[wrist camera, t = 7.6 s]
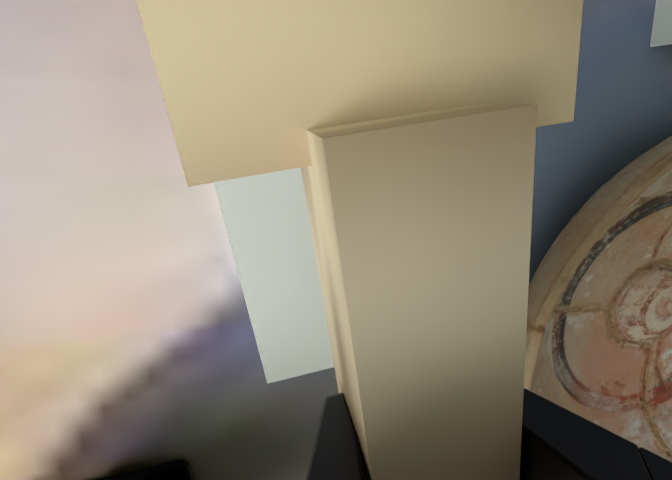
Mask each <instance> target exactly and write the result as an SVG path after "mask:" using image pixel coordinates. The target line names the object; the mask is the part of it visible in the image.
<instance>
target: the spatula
mask: <svg viewBox="0 0 672 480" xmlns="http://www.w3.org/2000/svg"><path fill="white" fill-rule="evenodd" d="M136 1H137V5H138V8H139V12H140V15H141V19H142V23H143V26H144V30H145V33H146V37H147V41H148V44H149V48H150V51H151V55H152V59H153V62H154V66H155V69H156V73H157V77H158V80H159V84H160V87H161V91H162V95H163V98H164V102H165V105H166V109H167V113H168V116H169V120H170V123H171V127H172V131H173V134H174V138H175V141H176V145H177V149H178V152H179V156H180V159H181V163H182V167H183V170H184V174H185V177H186V181H187V185H188V187H189V186H195V185H200V184H206V183H212V182H218V181H224V180H230V179H236V178H242V177H247V176H253V175H259V174H265V173H271V172H277V171H283V170H289V169H294V168H300V167H301V172H302V178H303V184H304V190H305V196H306V202H307V208H308V214H309V219H310V225H311V231H312V237H313V243H314V249H315V255H316V261H317V267H318V273H319V279H320V285H321V291H322V297H323V303H324V308H325V314H326V320H327V326H328V332H329V338H330V344H331V350H332V356H333V362H334V368H335V374H336V380H337V386H338V392H339V393H341V392H342V393H343V394H344V396H345V399H346V402H347V405H348V408H349V411H350V414H351V417H352V420H353V423H354V426H355V429H356V432H357V435H358V438H359V442H360V447H361V453H362V460H363V466H364V473H365V479H366V480H519V478H520V457H521V436H522V415H523V394H524V373H525V352H526V331H527V310H528V290H529V269H530V248H531V227H532V206H533V185H534V164H535V143H536V127H541V126H547V125H553V124H559V123H565V122H571V121H574V110H575V98H576V85H577V73H578V61H579V48H580V36H581V23H582V11H583V0H136Z"/></svg>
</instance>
